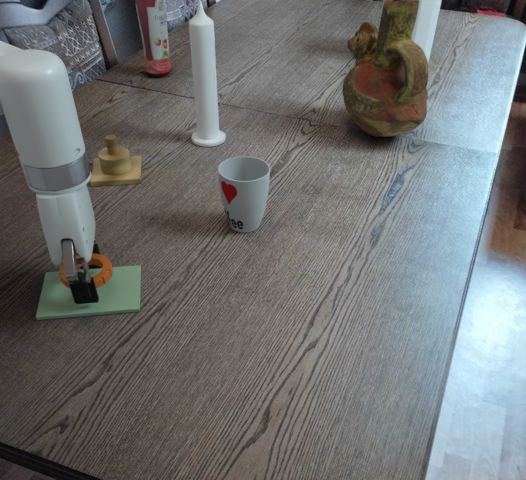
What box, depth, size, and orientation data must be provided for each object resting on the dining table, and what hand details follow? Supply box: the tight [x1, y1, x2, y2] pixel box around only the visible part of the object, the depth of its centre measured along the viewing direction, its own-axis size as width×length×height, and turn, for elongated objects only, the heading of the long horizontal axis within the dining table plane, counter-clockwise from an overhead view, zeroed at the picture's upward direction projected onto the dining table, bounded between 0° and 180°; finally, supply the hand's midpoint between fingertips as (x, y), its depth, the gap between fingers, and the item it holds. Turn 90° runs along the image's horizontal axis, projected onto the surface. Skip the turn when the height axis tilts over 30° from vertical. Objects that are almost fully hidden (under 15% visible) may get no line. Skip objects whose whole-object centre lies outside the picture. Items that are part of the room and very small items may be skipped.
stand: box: [89, 134, 143, 187], centre depth 101 cm, size 9×9×7 cm
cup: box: [217, 155, 271, 233], centre depth 88 cm, size 8×8×10 cm
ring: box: [59, 253, 114, 288], centre depth 77 cm, size 7×7×1 cm
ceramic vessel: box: [342, 0, 429, 138], centre depth 109 cm, size 17×26×25 cm, turn 27°
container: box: [379, 0, 443, 64], centre depth 142 cm, size 14×14×18 cm
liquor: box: [134, 0, 173, 78], centre depth 129 cm, size 7×7×28 cm
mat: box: [35, 264, 142, 321], centre depth 79 cm, size 14×10×1 cm
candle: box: [188, 0, 227, 148], centre depth 105 cm, size 7×7×25 cm
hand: (89, 283), depth 78 cm, fingers closed on ring, 7 cm apart
